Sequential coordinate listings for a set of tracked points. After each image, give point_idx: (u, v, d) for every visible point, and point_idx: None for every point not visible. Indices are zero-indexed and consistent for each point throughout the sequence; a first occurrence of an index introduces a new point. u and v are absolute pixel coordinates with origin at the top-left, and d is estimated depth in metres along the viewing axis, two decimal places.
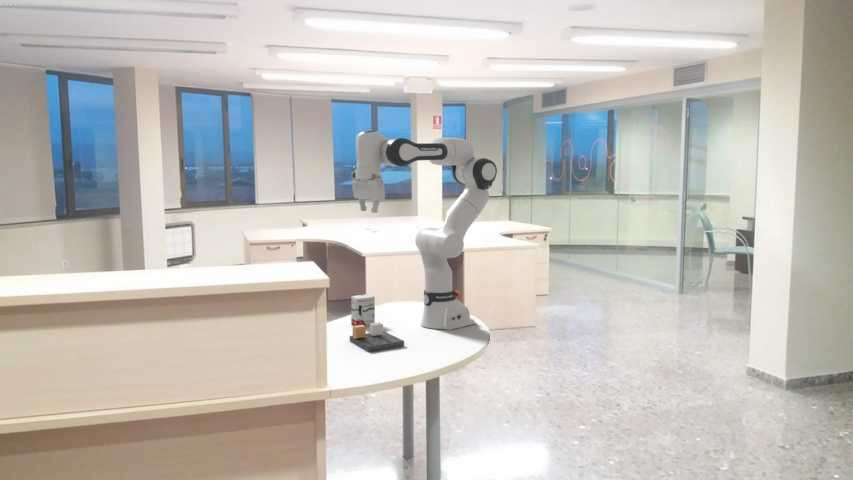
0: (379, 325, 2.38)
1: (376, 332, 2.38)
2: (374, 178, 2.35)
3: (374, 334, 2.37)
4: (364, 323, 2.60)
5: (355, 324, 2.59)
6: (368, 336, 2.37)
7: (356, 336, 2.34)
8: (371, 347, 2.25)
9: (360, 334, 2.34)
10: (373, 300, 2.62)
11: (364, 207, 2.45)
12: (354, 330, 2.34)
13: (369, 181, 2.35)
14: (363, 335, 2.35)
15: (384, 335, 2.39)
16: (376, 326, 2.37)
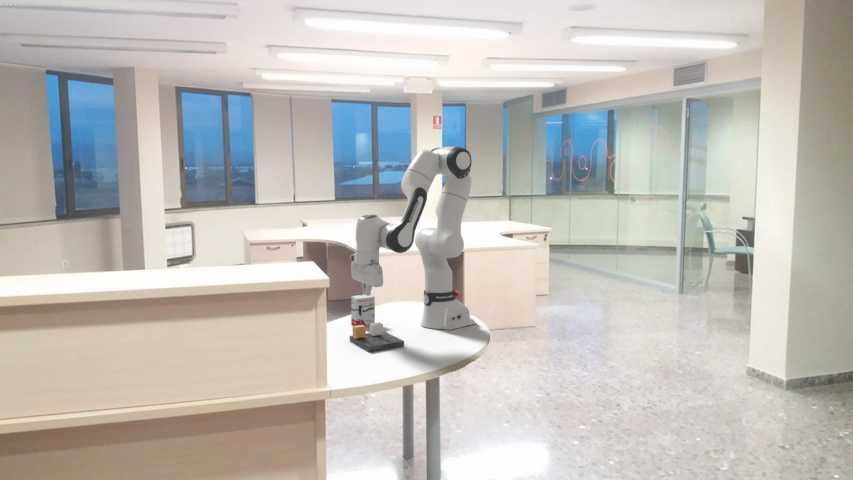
0: (379, 325, 2.38)
1: (376, 332, 2.38)
2: (373, 264, 2.37)
3: (374, 334, 2.37)
4: (364, 323, 2.60)
5: (355, 324, 2.59)
6: (368, 336, 2.37)
7: (356, 336, 2.34)
8: (371, 347, 2.25)
9: (360, 334, 2.34)
10: (373, 300, 2.62)
11: None
12: (354, 330, 2.34)
13: (367, 266, 2.37)
14: (363, 335, 2.35)
15: (384, 335, 2.39)
16: (376, 326, 2.37)
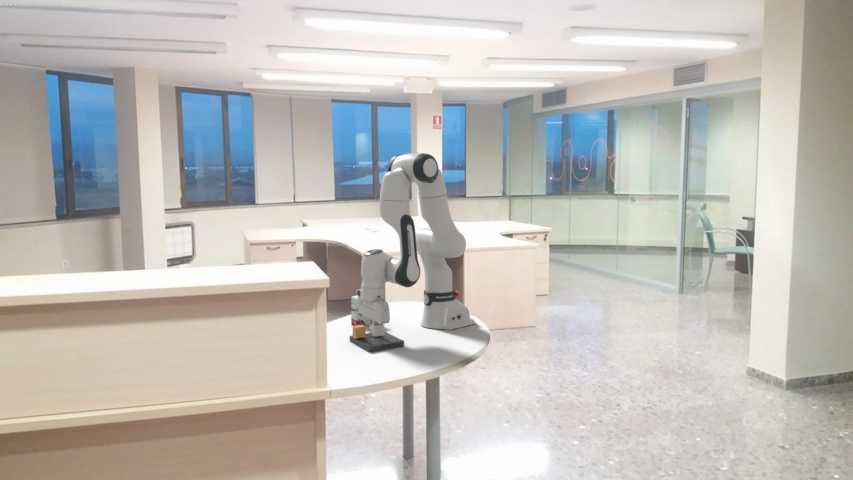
0: (381, 326, 2.37)
1: (378, 333, 2.37)
2: (379, 300, 2.34)
3: (376, 335, 2.36)
4: (364, 323, 2.60)
5: (355, 324, 2.59)
6: (368, 336, 2.37)
7: (356, 336, 2.34)
8: (371, 347, 2.25)
9: (360, 334, 2.34)
10: None
11: None
12: (354, 330, 2.34)
13: (374, 303, 2.35)
14: (363, 335, 2.35)
15: (384, 335, 2.39)
16: (378, 327, 2.36)
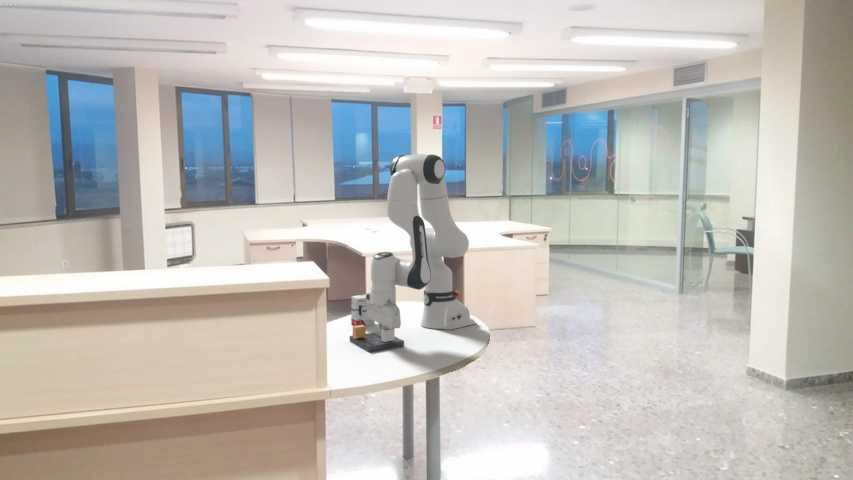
0: (391, 331, 2.30)
1: (388, 338, 2.30)
2: (389, 304, 2.27)
3: (386, 340, 2.29)
4: (364, 323, 2.60)
5: (355, 324, 2.59)
6: (368, 336, 2.37)
7: (356, 336, 2.34)
8: (371, 347, 2.25)
9: (360, 334, 2.34)
10: None
11: None
12: (354, 330, 2.34)
13: (384, 307, 2.28)
14: (363, 335, 2.35)
15: None
16: (388, 332, 2.30)
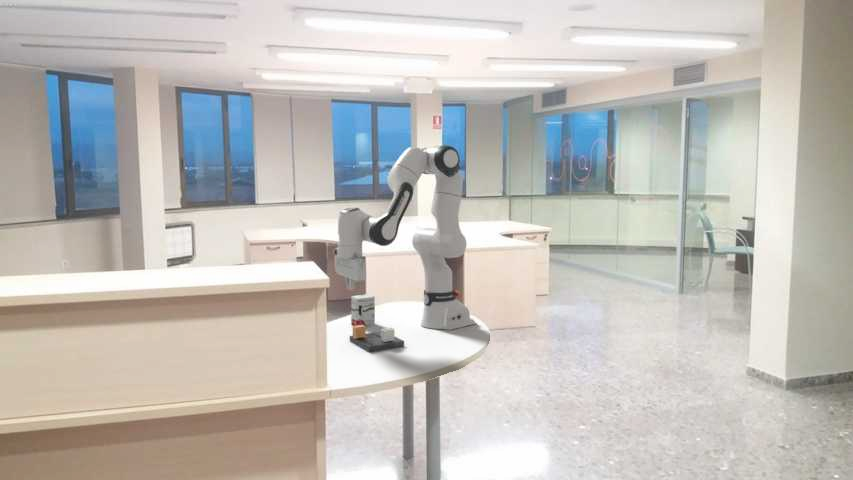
0: (391, 330, 2.30)
1: (388, 338, 2.30)
2: (355, 257, 2.33)
3: (385, 340, 2.30)
4: (364, 323, 2.60)
5: (355, 324, 2.59)
6: (368, 336, 2.37)
7: (356, 336, 2.34)
8: (371, 347, 2.25)
9: (360, 334, 2.34)
10: (373, 300, 2.62)
11: None
12: (354, 330, 2.34)
13: (350, 260, 2.34)
14: (363, 335, 2.35)
15: None
16: (387, 332, 2.30)
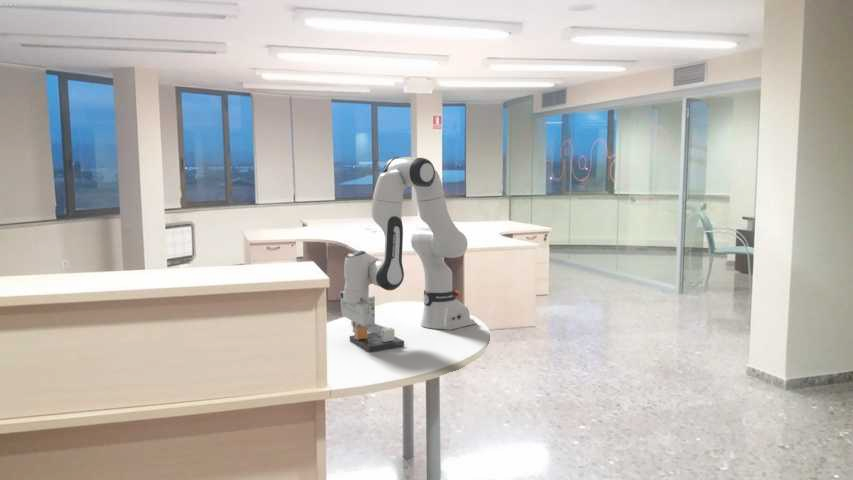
0: (391, 330, 2.30)
1: (388, 338, 2.30)
2: (362, 302, 2.30)
3: (385, 340, 2.30)
4: None
5: None
6: (368, 336, 2.37)
7: (358, 337, 2.32)
8: (371, 347, 2.25)
9: (362, 335, 2.33)
10: (373, 300, 2.62)
11: None
12: (356, 331, 2.32)
13: (357, 305, 2.31)
14: (365, 336, 2.34)
15: None
16: (387, 332, 2.30)
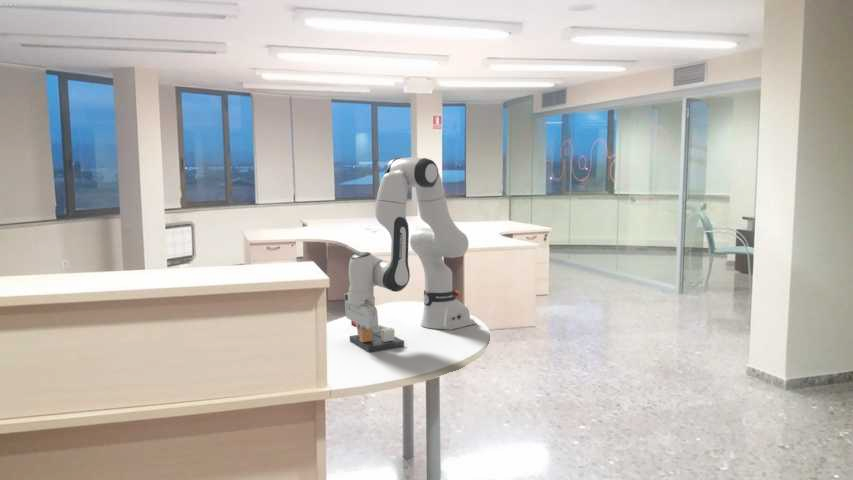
0: (391, 330, 2.30)
1: (388, 338, 2.30)
2: (367, 304, 2.27)
3: (385, 340, 2.30)
4: None
5: (355, 324, 2.59)
6: None
7: (363, 340, 2.29)
8: (371, 347, 2.25)
9: (367, 337, 2.29)
10: None
11: None
12: (361, 334, 2.29)
13: (362, 307, 2.28)
14: (370, 339, 2.30)
15: None
16: (387, 332, 2.30)
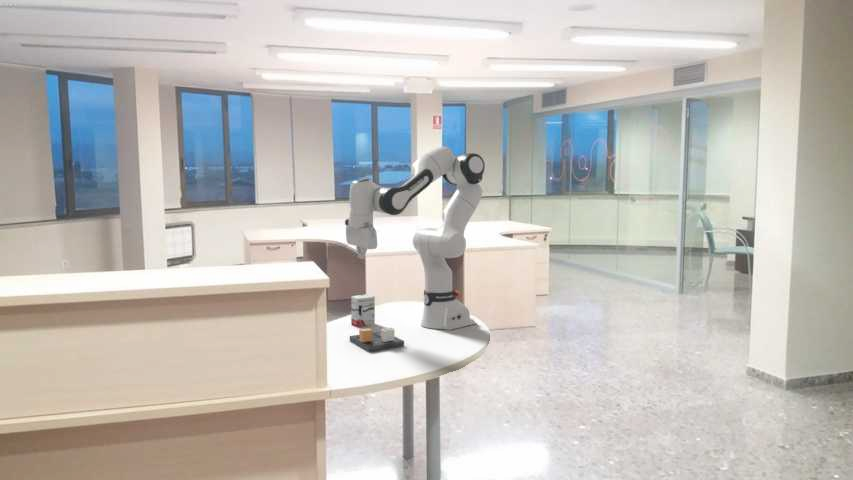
0: (391, 330, 2.30)
1: (388, 338, 2.30)
2: (366, 226, 2.40)
3: (385, 340, 2.30)
4: (364, 323, 2.60)
5: (355, 324, 2.59)
6: None
7: (363, 340, 2.29)
8: (371, 347, 2.25)
9: (367, 337, 2.29)
10: (373, 300, 2.62)
11: None
12: (361, 334, 2.29)
13: (362, 229, 2.40)
14: (370, 339, 2.30)
15: None
16: (387, 332, 2.30)
